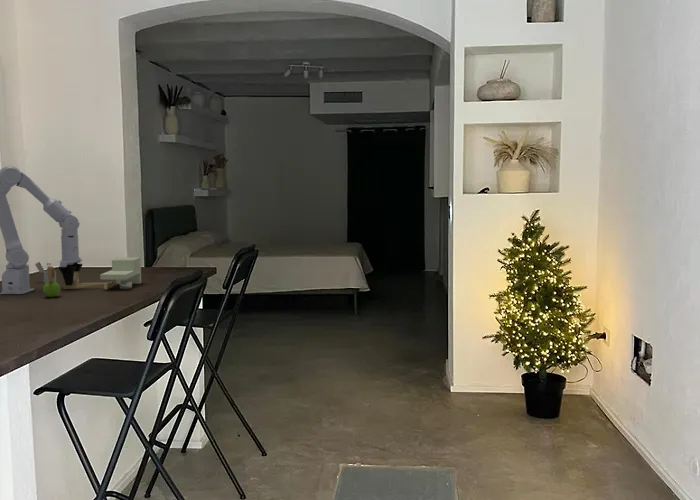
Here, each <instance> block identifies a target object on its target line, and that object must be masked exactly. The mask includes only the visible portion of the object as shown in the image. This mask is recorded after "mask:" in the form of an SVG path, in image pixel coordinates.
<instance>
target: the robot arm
mask: <svg viewBox="0 0 700 500" xmlns="http://www.w3.org/2000/svg"><path fill="white" fill-rule="evenodd" d="M14 186H16V187H19V188H22V189H25V190H26V191H27V192H28V193H29V194H31V195H32V196H33V197H34V198H35V199H36V200H37V201H38V202H40V203H41V204H42V205H43V211H44V212H45V213H46V214H47V215H48V216H49V217H50V218H52V219H53V220H54V221H55V222H56V223H58V226H59V228H61V229H60V231H61V232H60V233H61V236H60V238H61V239H60V240H61V242H60V243H61V261H59V266H58V269H59V271H60V273H61V274H62V277H63V278H64V280H63V282H64V281H65V284H66V285H72V283H73V275H74V271H79V273H80V271H81V269H82V267H83V263H81V262H83V259H81V257H80V255H79V254H80V252H79V234H78V233H79V232H78V231H79V230H78V229H79V227H80V221H79V219H78V217H76V216H75V215H72V213H73V212H72V210H68V208H66V207H65V206H64V205H63V202H62V201H61V200H60V199H59V200H58V199H56V198H51V197H49V196H48V194H46V193H45V192H44V191H43V190H42V189H41V188H40V187H39V185H37V184H36V183H35V182H34V181H33V180H32V179H31V178H30V177H29V176H28V175H27V174H25V173H23V172H22V171H20V169H19V168H18V167H15V166H12V165H9V166H4V167H2V168H1V169H0V232H1V235H2V238H3V240H4V246H5V250H6V253H5V259H6V261H7V262H8V263H7V264H6V265H5V271H3V272H2V275H1V287H2V288H1V289H2V290H1V292H0V295H24V294H26V293H30V292H32V291H35V288H30V287H31V286H30V285H31V284H30V265H29V264H28V262H29V259H30V258H29V257H30V256H29V254H28V252H27V251H26V250H25V249H24V247H23V245H22V242H21V240H20V237H19V234H18V230H17V228H16V227H17V226H16V224H15V221H14V218H13V214H12V211H11V208H10V204H9V201H8V198H7V194H8V193H9V192H10V190H11V189H12V188H13V187H14ZM63 278H62V279H63Z"/></svg>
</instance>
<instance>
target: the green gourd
mask: <svg viewBox="0 0 700 500" xmlns="http://www.w3.org/2000/svg"><path fill="white" fill-rule="evenodd" d="M51 264H52V263H49V262H47V263H46V265H47V267H46V271H47V270H48V280H49V282H47V283H44V285H43V287H42V292H43V293H44V295H45V297H48V298H54V297H57V296H58V295H59V294H60V293H61V286H60V283H58V281H56V282H54V276H55V271H56V270H55V268H54V267H53V266H51Z"/></svg>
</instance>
